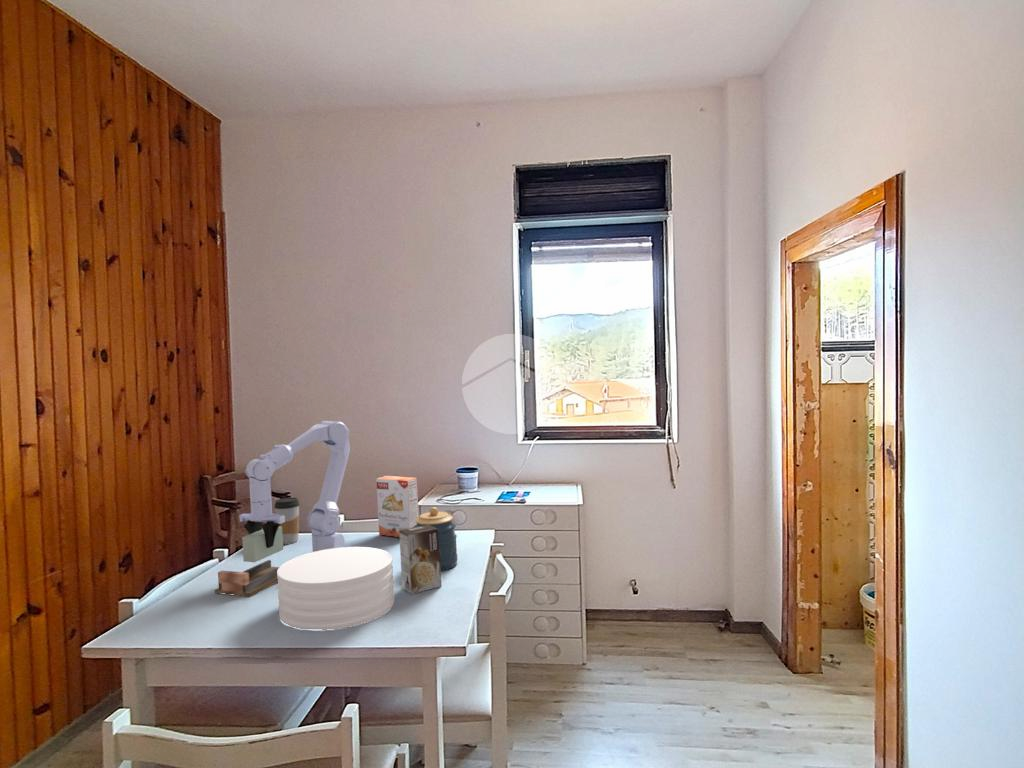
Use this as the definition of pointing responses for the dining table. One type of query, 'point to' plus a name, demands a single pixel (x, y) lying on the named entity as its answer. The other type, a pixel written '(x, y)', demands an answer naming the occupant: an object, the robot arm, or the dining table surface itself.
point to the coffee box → (420, 558)
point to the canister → (442, 535)
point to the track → (247, 580)
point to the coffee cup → (289, 518)
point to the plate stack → (335, 587)
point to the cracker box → (396, 504)
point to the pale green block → (260, 546)
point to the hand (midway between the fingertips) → (263, 546)
